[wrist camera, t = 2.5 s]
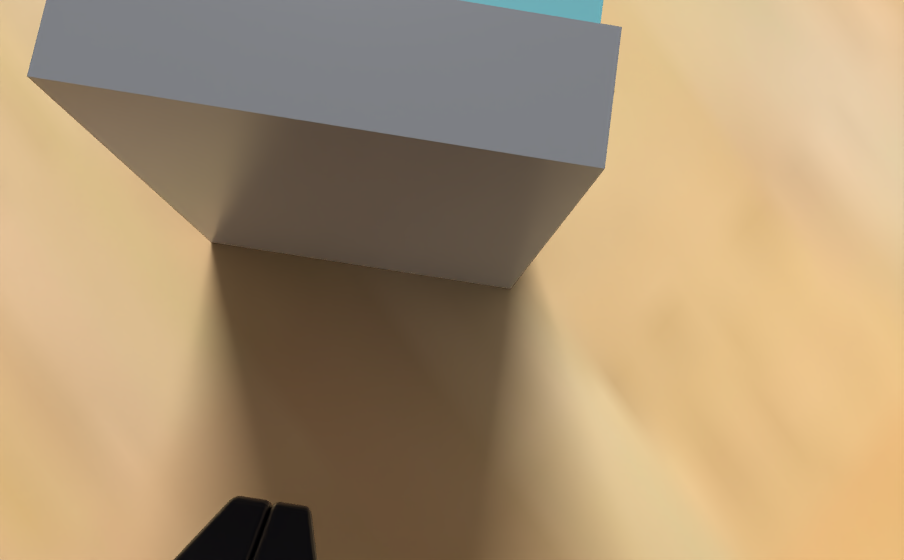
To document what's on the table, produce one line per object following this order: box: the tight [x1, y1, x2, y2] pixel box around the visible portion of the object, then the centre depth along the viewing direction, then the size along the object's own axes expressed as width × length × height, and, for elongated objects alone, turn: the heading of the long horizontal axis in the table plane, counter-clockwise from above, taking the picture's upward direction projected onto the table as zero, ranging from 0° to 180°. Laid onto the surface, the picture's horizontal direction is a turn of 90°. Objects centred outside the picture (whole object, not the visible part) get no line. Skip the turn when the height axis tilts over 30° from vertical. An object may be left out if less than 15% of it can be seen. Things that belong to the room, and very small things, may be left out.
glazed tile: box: [27, 0, 622, 289], centre depth 13 cm, size 2×6×8 cm, turn 82°
